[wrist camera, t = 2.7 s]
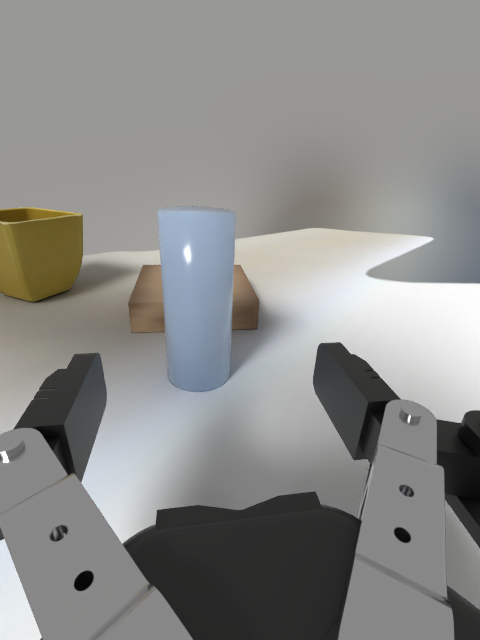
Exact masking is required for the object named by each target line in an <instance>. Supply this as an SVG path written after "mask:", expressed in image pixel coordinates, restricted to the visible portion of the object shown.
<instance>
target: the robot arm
mask: <svg viewBox="0 0 480 640" xmlns="http://www.w3.org/2000/svg"><path fill="white" fill-rule="evenodd" d="M313 385H314V390H315V393H316V395H317V396H318V398H319V400H320V402H321V403H322V405H323V407H324V409H325V410H326V412H327V414H328V416H329V417H330V419H331V421H332V423H333V424H334V426H335V428H336V430H337V431H338V433H339V435H340V437H341V438H342V440H343V442H344V444H345V445H346V447H347V449H348V451H349V452H350V454H351V456H352V458H353V459H354V460H360V459H368V460H369V462H370V466H369V469H368V473H367V477H366V482H365V486H364V490H363V495H362V499H361V503H360V507H359V512H358V516H357V518H356V517H354V516H353V515H351V514H349V513H346V512H344V511H342V510H339V509H337V508H334V507H330V506H326V505H321V504H320V502H319V499H318V497H317V494H316V492H307V493H299V494H290V495H281V496H277V497H274V498H272V499H269V500H267V501H264V502H262V503H259V504H256V505H254V506H251V507H249V508H246V509H243V510H231V509H224V508H216V507H208V506H200V505H196V506H187V507H179V508H170V509H162V510H157V517H156V524H155V525H153V526H150V527H148V528H146V529H144V530H142V531H140V532H138V533H137V534H135V535H134V536H132V537H131V538H129V539H128V540H127V541H125V542H124V543H123V544H122V543H121V542H120V540H119V539H118V537H117V536H116V534H115V533H114V531H113V530H112V528H111V527H110V525H109V524H108V522H107V521H106V519H105V518H104V516H103V515H102V513H101V512H100V510H99V509H98V508H97V506H96V505H95V503H94V502H93V500H92V499H91V497H90V496H89V494H88V493H87V491H86V490H85V488H84V487H83V485H82V484H81V481H82V478H83V475H84V472H85V469H86V466H87V463H88V460H89V457H90V454H91V450H92V447H93V444H94V441H95V438H96V435H97V432H98V429H99V426H100V423H101V419H102V416H103V413H104V410H105V407H106V399H107V392H106V385H105V379H104V373H103V367H102V361H101V357H100V354H99V353H87V354H75V355H74V356H73V358H72V360H71V361H70V363H69V365H68V367H67V368H66V369H58V370H57V371H55V372H54V373H53V374H51V375H50V376H49V377H47V378H46V379H45V381H44V382H43V384H42V386H41V387H40V389H39V391H38V392H37V393H36V395H35V396H34V400H32V401H31V403H30V404H29V406H28V407H27V409H26V411H25V412H24V414H23V415H22V417H21V418H20V420H19V421H18V423H17V425H16V426H15V428H14V429H13V430H11V431H8V432H5V433H3V434H1V435H0V540H2V539H5V541H6V544H7V546H8V549H9V552H10V554H11V557H12V560H13V562H14V565H15V567H16V570H17V573H18V575H19V578H20V581H21V583H22V586H23V588H24V591H25V594H26V596H27V599H28V602H29V604H30V607H31V609H32V612H33V615H34V617H35V620H36V623H37V625H38V628H39V630H40V633H41V636H42V638H41V639H40V640H480V610H479V609H478V608H476V607H475V606H474V605H472V604H471V603H470V602H468V601H467V600H466V599H464V598H463V597H462V596H460V595H459V594H458V593H456V592H455V591H454V590H452V589H451V588H450V587H449V586H447V585H446V539H445V500H446V501H447V503H448V504H449V505H450V507H451V508H452V510H453V511H454V512H455V514H456V515H457V517H458V518H459V519H460V521H461V522H462V524H463V525H464V527H465V528H466V529H467V531H468V532H469V534H470V535H471V536H472V538H473V539H474V541H475V542H476V543H477V545H478V546H479V548H480V411H469V412H467V413H466V414H465V415H464V418H463V420H462V422H461V423H455V422H449V421H442V420H436V418H435V416H434V415H433V414H432V413H431V412H430V411H429V410H428V409H426V408H425V407H423V406H422V405H420V404H417V403H415V402H412V401H408V400H401V399H400V398H399V397H398V396H397V395H396V394H395V393H394V391H393V390H392V389H391V388H390V387H389V386H388V385H387V384H386V383H385V382H384V381H383V379H382V378H380V376H379V375H378V374H377V373H376V372H375V371H373V368H372V367H371V366H370V365H369V364H368V363H367V362H366V361H365V360H363V359H361V358H360V357H358V356H356V355H355V354H350V353H349V351H348V350H347V349H346V348H345V347H344V346H343V345H342V344H341V343H340V342H336V343H321V344H319V346H318V350H317V357H316V363H315V370H314V376H313Z"/></svg>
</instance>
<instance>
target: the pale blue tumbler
mask: <svg viewBox="0 0 480 640" xmlns="http://www.w3.org/2000/svg"><path fill="white" fill-rule="evenodd" d="M235 223H236V213H235V212H234V211H232V210H228V209H222V208H214V207H197V206H180V207H167V208H162V209H159V210H158V227H159V243H160V259H161V275H162V291H163V308H164V324H165V340H166V356H167V372H168V379H169V381H170V382H171V383H172V384H173V385H174V386H176V387H177V388H180V389H182V390H186V391H191V392H203V391H209V390H213V389H216V388H218V387H220V386H222V385H223V384H224V383H226V381H227V380H228V379H229V376H230V363H231V335H232V307H233V279H234V251H235Z"/></svg>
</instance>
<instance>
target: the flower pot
mask: <svg viewBox="0 0 480 640" xmlns="http://www.w3.org/2000/svg"><path fill="white" fill-rule="evenodd" d="M82 257H83V215H82V214H80V213H72V212H64V211H56V210H49V209H41V208H32V207H26V208H11V209H0V292H1V293H2V294H4V295H8V296H11V297H16V298H19V299H23V300H27V301H31V302H34V301H38V300H41V299H44V298H46V297H49V296H52V295H55V294H58V293H61V292H64V291H67V290H69V289H70V288H71V287H72V285H73V284H74V282H75V280H76V278H77V276H78V273H79V270H80V267H81V263H82Z"/></svg>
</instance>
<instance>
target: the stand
mask: <svg viewBox="0 0 480 640" xmlns="http://www.w3.org/2000/svg"><path fill="white" fill-rule="evenodd" d="M128 304H129V313H130V322H131V331H132V333H137V332H165V324H164V308H163V291H162V275H161V265H143V267H142V269H141V272H140V274H139V277H138V279H137V282H136V285H135V287H134V290H133V292H132V295H131V298H130V300H129V303H128ZM258 311H259V299H258V297H257V296H256V294H255V292H254V290H253V288H252V286H251V284H250V282H249V280H248V279H247V277H246V275H245V273H244V271H243V269H242V267H241V265H234V279H233V307H232V330H233V329H257V325H258Z"/></svg>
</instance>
